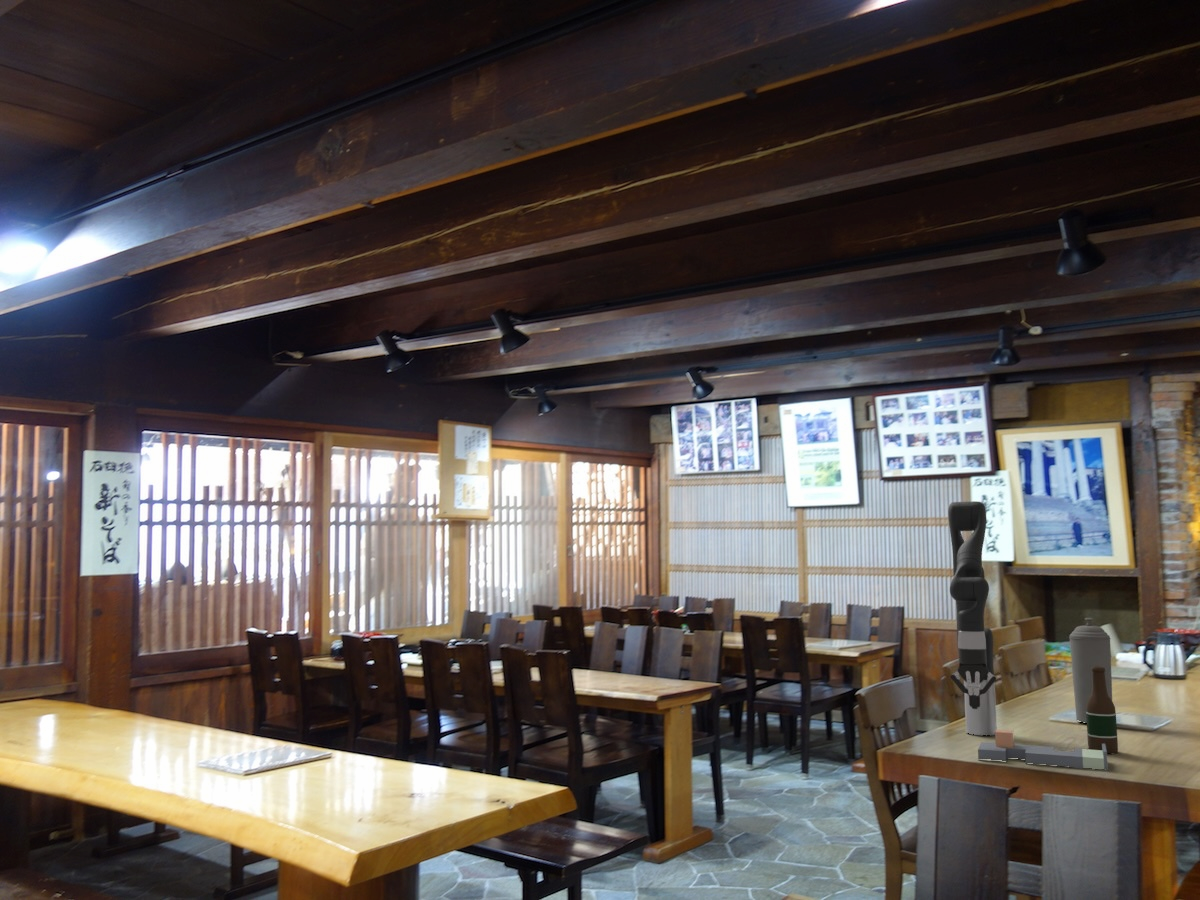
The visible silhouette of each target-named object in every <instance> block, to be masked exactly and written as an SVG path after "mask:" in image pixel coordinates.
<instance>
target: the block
mask: <svg viewBox="0 0 1200 900" xmlns="http://www.w3.org/2000/svg"><path fill="white" fill-rule="evenodd" d="M994 736H995V743H996V747H1009V748H1013V747H1014V744H1015V740H1014V739H1015V737H1014V736H1015V735H1014V730H1011V729H1009V730H1008V729H998V728H997V729H996V731H995V735H994Z"/></svg>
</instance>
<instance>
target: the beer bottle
mask: <svg viewBox="0 0 1200 900" xmlns="http://www.w3.org/2000/svg"><path fill="white" fill-rule="evenodd" d="M1091 670H1092V695H1091V696H1090V698H1089V699H1088V701H1087V704H1086V719H1087V724H1086V734H1087V747H1088V748H1087V749H1090V750H1102V744H1105V746H1106V751H1107V753H1115V754H1118V752H1119V745H1118V744H1119V743H1118V742H1119V741H1118V729H1117V728H1118V726H1117V725H1118V724H1117V713H1116V712H1117V711H1116V707H1115V704H1114V702H1113V699H1112V700H1111V699H1110V698H1109V696H1108V693H1107V688H1106V680H1105V671H1106V670H1105V668H1104V667H1100V666H1093V667H1092V668H1091Z"/></svg>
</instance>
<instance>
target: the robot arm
mask: <svg viewBox="0 0 1200 900" xmlns="http://www.w3.org/2000/svg"><path fill="white" fill-rule="evenodd" d="M947 510H948V511H947V512H948V513H947V515H948V517H947V518H948V525H949V532H950V533H949V534H950V541H951V547H952V548H951V549H952V570H953V572H952V573H953V576H952V579H951V582H950V584H949V585H950V586H949V593H950V596H951V598H952V599H953V600H954V601H955V606H956V646H957V652H958V667H957V669H956V671H955V672H954V673H952V674H950V679H951V680H952V682H953V683H954V684H955V685H956V686H957V688H959V690H960V691H961V692H962V693H964V712H965V714H964V716H965V719H964V720H965V733H966V732H967V733H966V734H968V733H969V735H973V734H974V735H973V736H983V735H986V736H987V735H990V736H995V731H996V729H998V728H997V725H998V724H997V707H996V706H997V704H996V703H997V702H996V689H995V688H996V685H995V682H996V680H997V679H998V677H997V675H995V669H994V635H993V631H992V629H991V628H989V627H985V610H986V609H985V607H986V603H987V599H988V596H989V592H990V585H989V583H988V581H987V579H986V578H985V570H984V567H983V547H984V541H985V535H986V528H987V510H986V506H985V504H984V503H983V502H981V501H953V502H950V504H949V506H948V509H947ZM961 532H972V533H971V534H970V536H969V537H968V538H967V539H966V540H964V537H963V535H962V533H961ZM960 678H962V679H963V683H962V682H961V680H960ZM987 737H988V736H987Z"/></svg>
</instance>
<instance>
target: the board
mask: <svg viewBox="0 0 1200 900" xmlns="http://www.w3.org/2000/svg"><path fill="white" fill-rule="evenodd" d="M977 757H978V758H977V759H991V760H1002V761H1006V762H1007V760H1006V758H1018V759H1025V760H1026V761H1025V764H1026V763H1033V764H1046V765H1057V766H1069V767H1078V768H1077V769H1082V768H1092V769H1091V770H1095V769H1106V770H1105V771H1109V770H1108V769H1109V767H1108V766H1109V765H1108V754H1107V751H1106V746H1105V744H1102V750H1090V749H1089V748H1087V749H1086V748H1073V751H1069V750H1058V749H1057V750H1055V746H1045V745H1044V746H1043V745H1032V744H1030V745H1028V744H1016V743H1014V747H1013V748H1009V747H996V742H989V741H988V742H987V741H981V742H980V744H979V745H978V748H977ZM1069 767H1068V768H1069Z"/></svg>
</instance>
